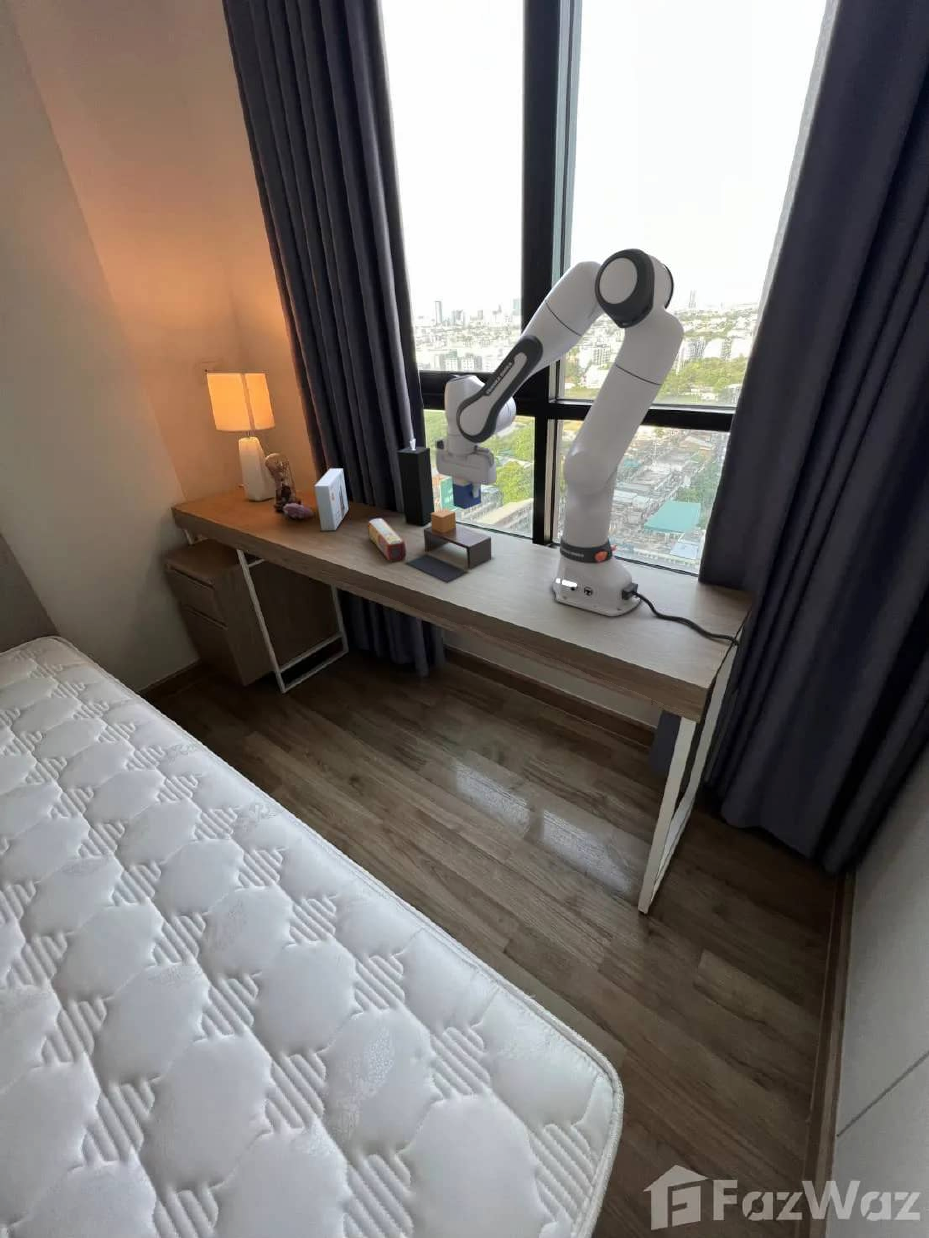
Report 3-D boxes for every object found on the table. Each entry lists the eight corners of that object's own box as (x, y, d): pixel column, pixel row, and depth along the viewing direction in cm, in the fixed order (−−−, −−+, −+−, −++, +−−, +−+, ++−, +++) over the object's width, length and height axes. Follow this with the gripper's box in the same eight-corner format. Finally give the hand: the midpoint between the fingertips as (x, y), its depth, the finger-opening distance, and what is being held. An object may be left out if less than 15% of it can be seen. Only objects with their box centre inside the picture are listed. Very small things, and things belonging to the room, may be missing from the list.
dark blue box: (481, 502, 140) (480, 474, 136) (465, 509, 136) (463, 480, 132) (469, 499, 143) (468, 471, 138) (453, 505, 139) (451, 477, 135)
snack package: (408, 558, 151) (406, 538, 147) (388, 564, 148) (385, 543, 145) (386, 535, 167) (384, 515, 163) (367, 539, 165) (364, 519, 161)
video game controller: (287, 521, 186) (278, 508, 180) (292, 512, 188) (283, 498, 182) (310, 523, 183) (302, 510, 177) (315, 513, 185) (307, 500, 179)
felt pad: (467, 572, 141) (467, 571, 141) (447, 582, 137) (447, 581, 137) (426, 554, 152) (426, 554, 152) (406, 563, 148) (406, 562, 148)
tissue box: (405, 523, 175) (395, 441, 160) (417, 515, 181) (409, 435, 166) (424, 526, 172) (416, 443, 157) (435, 518, 178) (429, 437, 162)
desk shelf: (491, 558, 148) (491, 536, 144) (470, 569, 143) (469, 546, 139) (446, 541, 161) (444, 520, 157) (425, 550, 155) (423, 529, 152)
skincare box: (337, 530, 172) (328, 485, 163) (321, 531, 172) (312, 486, 164) (350, 509, 190) (343, 467, 181) (336, 509, 190) (328, 468, 181)
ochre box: (456, 527, 151) (455, 512, 149) (442, 533, 148) (441, 517, 146) (445, 523, 155) (444, 508, 152) (431, 529, 151) (430, 513, 149)
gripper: (501, 446, 126) (502, 499, 133) (447, 436, 139) (450, 485, 146) (484, 451, 122) (486, 505, 130) (430, 441, 135) (434, 491, 142)
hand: (466, 494), depth 138 cm, fingers closed on dark blue box, 4 cm apart
